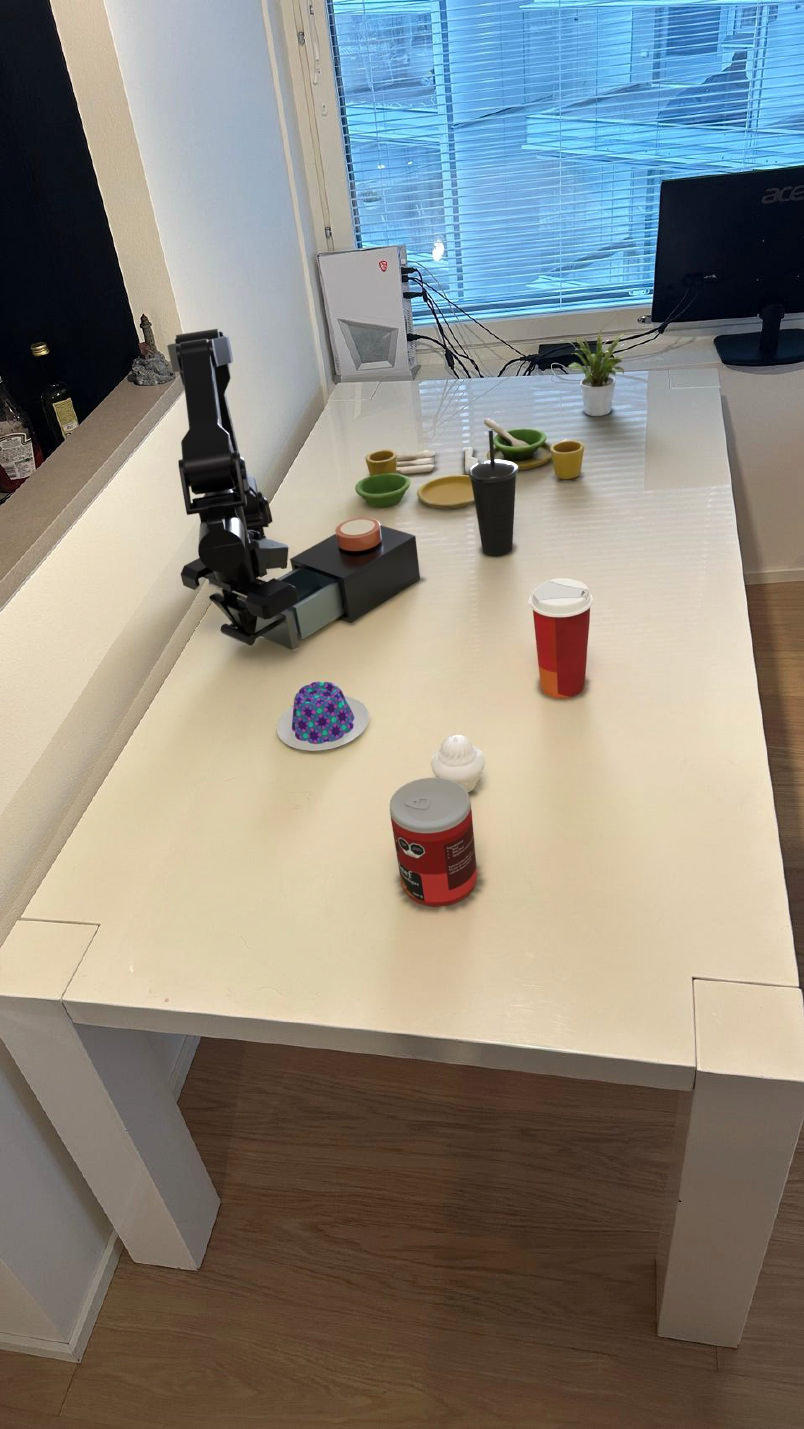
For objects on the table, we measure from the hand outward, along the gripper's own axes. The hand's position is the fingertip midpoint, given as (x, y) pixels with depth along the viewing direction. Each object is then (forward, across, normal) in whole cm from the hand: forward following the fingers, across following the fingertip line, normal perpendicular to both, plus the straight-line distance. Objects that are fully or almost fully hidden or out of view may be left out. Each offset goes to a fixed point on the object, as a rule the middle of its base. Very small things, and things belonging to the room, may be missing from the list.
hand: (250, 637), depth 143 cm
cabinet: (+3, 0, -22) cm, 22 cm away
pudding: (+3, -21, +6) cm, 22 cm away
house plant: (+3, +11, -102) cm, 103 cm away
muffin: (+3, -43, +5) cm, 43 cm away
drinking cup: (+3, -10, -44) cm, 45 cm away
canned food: (+3, -51, +18) cm, 54 cm away
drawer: (+2, 0, -7) cm, 8 cm away
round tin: (-4, 0, -23) cm, 24 cm away
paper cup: (+3, -41, -18) cm, 45 cm away
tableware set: (+3, +12, -64) cm, 65 cm away
